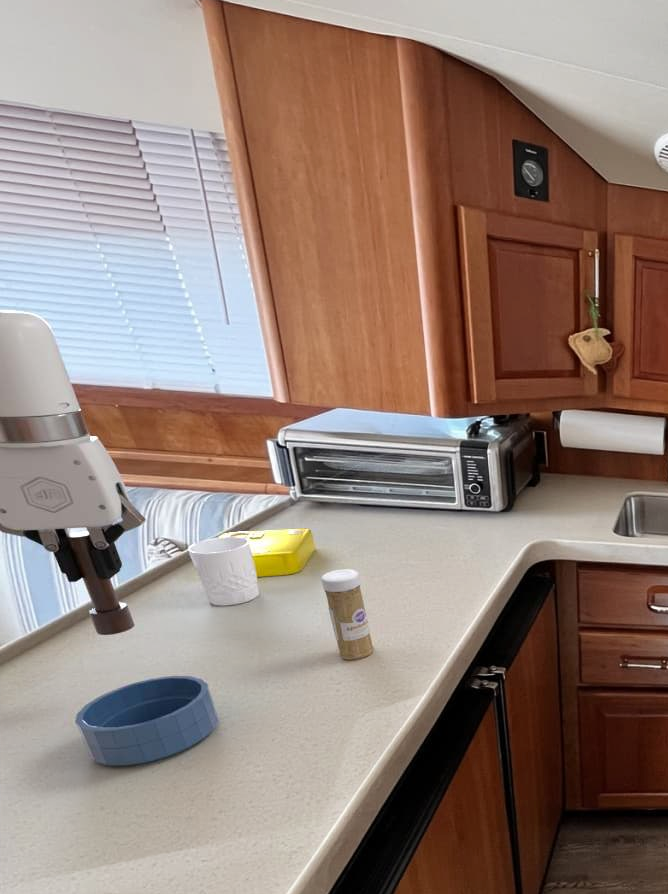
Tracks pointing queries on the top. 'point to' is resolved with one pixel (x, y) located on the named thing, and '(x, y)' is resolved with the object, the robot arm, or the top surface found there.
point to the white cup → (225, 570)
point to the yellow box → (278, 550)
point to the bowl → (147, 720)
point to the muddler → (99, 590)
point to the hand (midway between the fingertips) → (95, 575)
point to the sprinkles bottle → (348, 613)
